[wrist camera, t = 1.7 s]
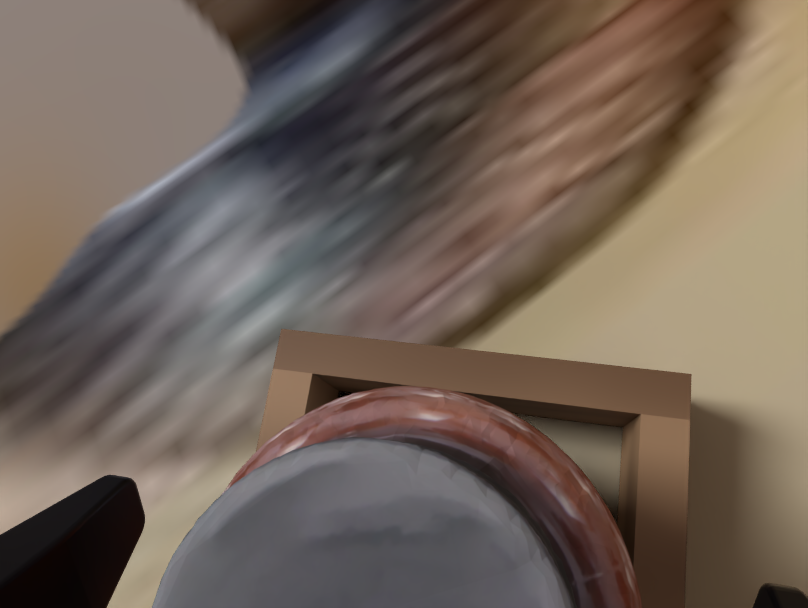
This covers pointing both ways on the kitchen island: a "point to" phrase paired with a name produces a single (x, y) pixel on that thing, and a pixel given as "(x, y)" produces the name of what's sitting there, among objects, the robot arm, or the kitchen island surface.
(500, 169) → the kitchen island surface
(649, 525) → the pocket
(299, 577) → the supplement bottle
